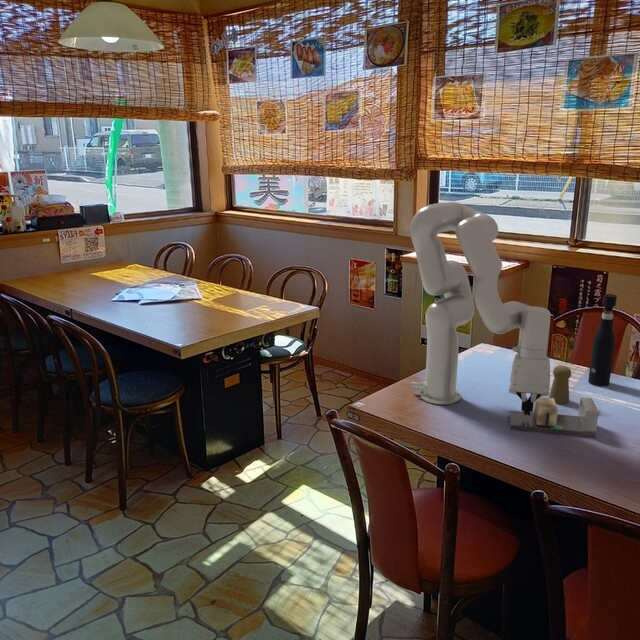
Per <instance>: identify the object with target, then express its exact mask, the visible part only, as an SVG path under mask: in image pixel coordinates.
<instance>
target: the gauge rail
mask: <svg viewBox="0 0 640 640" xmlns="http://www.w3.org/2000/svg"><path fill="white" fill-rule="evenodd" d="M578 406H579V408H578V415H569V414H559V413H557V422H556V426H548V427H547V426H545V425H537V424H536V420H535V416H534V411H533V412H531V413H530V416H529V415H524V412H523V411H522V410H510V409H509V410H508V415H507V417H508V421H509V429H510V431H519V432H530V433H539V434H540V433H541V434H549V435H550V434H553V435H561V436H564V435H565V436H572V435H573V436H575V437H583V438H596V437H597V426H598V419H599V409H598V408H597V406H596V404H595V402H594V400H593V398H592V397H580V399H579V405H578Z"/></svg>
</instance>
